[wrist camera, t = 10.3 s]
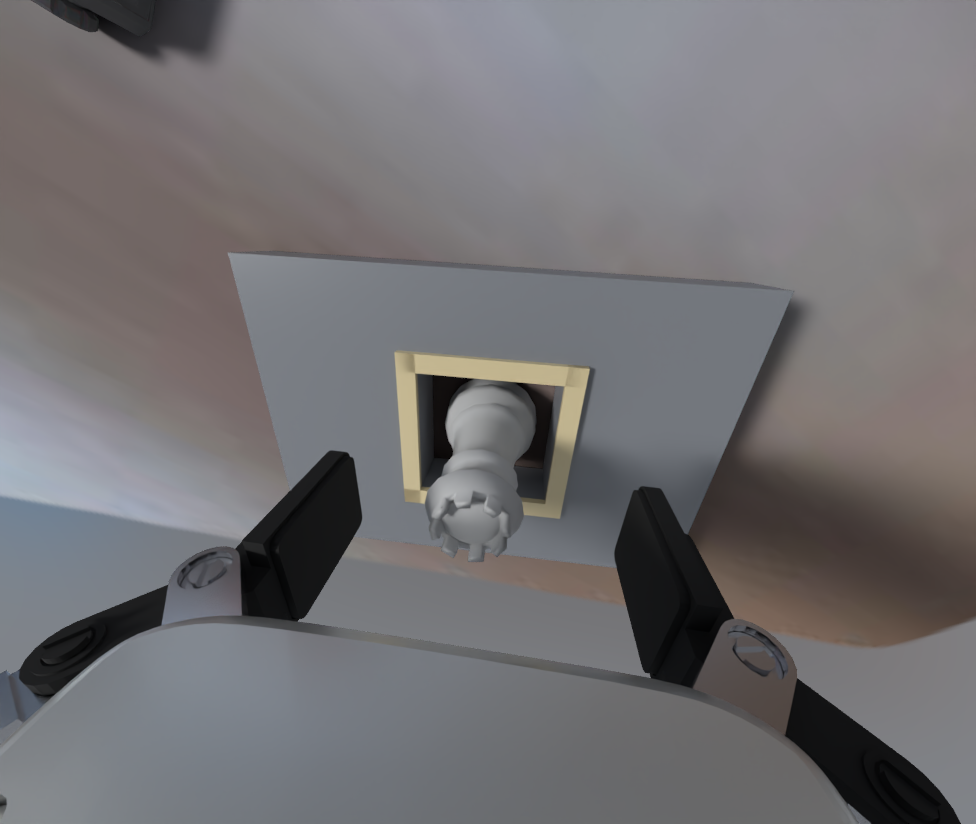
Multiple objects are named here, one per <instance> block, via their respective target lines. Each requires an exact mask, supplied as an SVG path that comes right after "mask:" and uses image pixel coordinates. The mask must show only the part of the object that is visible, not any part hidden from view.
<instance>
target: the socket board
mask: <svg viewBox="0 0 976 824" xmlns="http://www.w3.org/2000/svg"><path fill="white" fill-rule="evenodd" d="M228 255H229V259H230V262H231V266H232V270H233V274H234V278H235V282H236V285H237V289H238V293H239V297H240V301H241V305H242V308H243V312H244V316H245V320H246V324H247V328H248V331H249V335H250V339H251V343H252V347H253V351H254V354H255V358H256V362H257V366H258V370H259V374H260V377H261V381H262V385H263V389H264V393H265V397H266V400H267V404H268V408H269V412H270V416H271V420H272V423H273V427H274V431H275V435H276V439H277V443H278V446H279V450H280V454H281V458H282V462H283V466H284V469H285V473H286V477H287V481H288V485H289V489H290V490H291V489H292V488H293V487H294V486H295V485H296V484H297V483H298V482H299V481H300V480H301V479H302V478H303V477H304V476H305V475H306V474H307V473H308V472H309V471H310V470H311V469H312V468H313V467H314V466H315V465H316V464H317V462H318V461H319V460H320V459H321V458H322V457H323V456H324V455H325V454H326V453H327V452H328V451H330V450H334V451H342V452H348V453H349V455H350V457H353V458H354V462H355V469H356V476H357V483H358V489H359V496H360V503H361V510H362V522H361V525H360V527H359V529H358V530H357V532H356V534H355V535H354V537H361V538H370V539H378V540H386V541H395V542H403V543H412V544H420V545H428V546H437V547H442V543H443V540H444V539H443V538H442V537H440V539H435V540H432V539H431V536H430V532H429V529H428V528H429V525H430V521H429V519H428V516H427V512H426V509H425V500H426V495H427V491H428V489H429V488H430V487H431V486H432V485H433V484H434V483H435V481H436V480H437V479H438V478H440V477H441V476H442V472H443V468H444V465H445V464H446V463H447V462H448V461H449V459H441V458H434V430H433V377H432V375H440V376H451V377H463V378H474V379H486V380H497V381H508V382H520V383H531V384H543V385H554V386H555V393H554V399H553V405H552V412H551V418H550V425H549V431H548V438H547V444H546V450H545V457H544V463H543V469H538V468H528V467H519V466H514V467H513V469H514V470H515V472H516V474H517V482H518V487H517V490H516V492H517V494H518V495H519V497H520V498H521V500H522V504H523V512H524V517H523V520H522V522H521V525H520V527H519V529H518V531H516V532H515V533H514V534H513V535H512V536H511V538H508V539H507V549H506V550H505V551H504V552H502V553H501V554H504V555H512V556H520V557H529V558H537V559H546V560H554V561H562V562H571V563H579V564H587V565H596V566H604V567H613V568H617V567H616V563H615V558H614V551H615V546H616V543H617V540H618V537H619V534H620V531H621V527H622V524H623V521H624V518H625V515H626V511H627V508H628V505H629V502H630V499H631V496H632V493H633V491H634V490H639V488H640V487H641V486H646V487H655V488H660V489H661V490H662V491H663V493H664V495H665V497H666V499H667V500H668V502H669V504H670V506H671V508H672V510H673V512H674V514H675V516H676V518H677V520H678V522H679V524H680V526H681V528H682V529H683V531H684V533H685V534H687V535H688V533H689V530H690V528H691V526H692V524H693V521H694V519H695V517H696V514H697V512H698V510H699V508H700V505H701V503H702V501H703V498H704V496H705V494H706V492H707V489H708V487H709V485H710V482H711V480H712V478H713V476H714V473H715V471H716V469H717V466H718V464H719V462H720V460H721V457H722V455H723V453H724V450H725V448H726V446H727V443H728V441H729V439H730V437H731V434H732V432H733V430H734V427H735V425H736V423H737V421H738V418H739V416H740V414H741V411H742V409H743V407H744V405H745V402H746V400H747V398H748V395H749V393H750V391H751V389H752V386H753V384H754V382H755V379H756V377H757V375H758V373H759V370H760V368H761V366H762V363H763V361H764V359H765V356H766V354H767V352H768V350H769V347H770V345H771V343H772V340H773V338H774V336H775V334H776V331H777V329H778V327H779V324H780V322H781V320H782V318H783V315H784V313H785V311H786V308H787V306H788V304H789V302H790V299H791V297H792V295H793V292H794V291H791V290H786V289H780V288H775V287H770V286H764V285H759V284H754V283H744V282H729V281H714V280H700V279H685V278H670V277H655V276H640V275H625V274H610V273H595V272H580V271H565V270H550V269H535V268H520V267H506V266H491V265H476V264H461V263H446V262H431V261H416V260H401V259H386V258H371V257H356V256H341V255H327V254H312V253H297V252H282V251H256V252H231V253H228ZM458 549H462V550H467V549H463V548H460V547H458ZM485 552H487V553H492V552H491V548H489V549H486V550H485Z"/></svg>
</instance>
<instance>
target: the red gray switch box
mask: <svg viewBox="0 0 976 824" xmlns="http://www.w3.org/2000/svg"><path fill="white" fill-rule="evenodd" d="M31 1H33V2H35V3H36V4H38V5H40V6H41V7H43V8H44V9H46V10H48V11H49V12H51V13H53V14H54V15H56V16H58V17H59V18H61V19H63V20H64V21H66V22H68V23H70V24H72V25H74V26H76V27H78V28H80V29H83V30H85V31H88V32H96V31H98V24H99V20H98V18H97V17H96V16H95V15H94V13H96V14H98V15H100V16H102V17H104V18H106V19H108V20H109V21H111V22H113V23H115V24H117V25H119V26H121V27H123V28H124V29H126V30H128V31H130V32H132V33H134V34H136V35H138V36H139V37H140V36H142V35H143V34H145V33H147V32H148V31H150V30H151V25H152V19H153V13H154V7H155V1H156V0H31ZM92 11H93V12H94V13H93V12H92Z"/></svg>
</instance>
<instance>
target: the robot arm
mask: <svg viewBox="0 0 976 824" xmlns="http://www.w3.org/2000/svg"><path fill="white" fill-rule="evenodd" d="M361 522H362V510H361V503H360V496H359V489H358V483H357V476H356V469H355V462H354V458H353V457H350V455H349V453H348V452H342V451H334V450H330V451H328V452H327V453H326V454H325V455H324V456H323V457H322V458H321V459H320V460H319V461H318V462H317V464H316V465H315V466H314V467H313V468H312V469H311V470H310V471H309V472H308V473H307V474H306V475H305V476H304V477H303V478H302V479H301V480H300V481H299V482H298V483H297V484H296V485H295V486H294V487H293V488H292V489H291V490H290V491H289V492H288V494H287V495H286V496H285V497H284V498H283V499H282V500H281V501H280V502H279V503H278V504H277V505H276V506H275V507H274V508H273V509H272V510H271V511H270V512H269V513H268V514H267V515H266V516H265V517H264V518H263V519H262V520H261V521H260V523H259V524H258V525H257V526H256V527H255V528H254V529H253V530H252V531H251V532H250V533H249V534H248V535H247V536H246V537H245V538H244V539H243V540H242V542H241V543H240V544H239V545H238V546H237V548H236V549H234V548H231V547H215V548H211V549H207V550H204V551H202V552H200V553H197V554H195V555H194V556H192V557H191V558H189V559H187V560H186V561H185V562H183V563H182V564H181V565H180V566H179V567H178V568H177V569H176V570H175V571H174V573H173V574H172V575H171V578H170V580H169V584H168V585H167V586H164V587H162V588H159V589H157V590H154V591H152V592H149V593H147V594H144V595H142V596H139V597H137V598H134V599H132V600H129V601H127V602H124V603H122V604H120V605H117V606H115V607H112V608H110V609H107V610H105V611H102V612H100V613H97V614H95V615H92V616H90V617H88V618H85V619H82V620H80V621H77V622H75V623H73V624H71V625H69V626H67V627H65V628H63V629H61V630H60V631H58V632H56V633H55V634H54V635H52V636H50V637H49V638H47V639H46V640H45V641H44V642H43V643H41V644H40V645H39V646H38V647H36V648H35V649H34V650H33V652H32V653H31V654H30V655H29V656H28V657H27V658H26V659H25V661H24V663H23V665H22V667H21V668H20V669H19V670H18V671H16V672H14V673H12V674H10V673H9V672H8V671H7V670H6V671H4V672H2V673H0V824H961V823H960V821H959V819H958V817H957V815H956V814H955V812H954V810H953V808H952V807H951V805H950V804H949V803H948V801H947V800H946V799H945V797H944V796H943V795H942V793H941V792H940V791H939V790H938V788H937V787H936V786H934V784H933V783H932V782H931V781H930V780H929V779H928V778H927V777H926V776H925V775H924V774H923V773H922V772H921V771H920V770H918V769H917V768H916V767H915V766H914V765H913V764H911V763H910V762H909V761H908V760H906V759H905V758H904V757H902V756H901V755H900V754H898V753H897V752H896V751H894V750H893V749H892V748H890V747H889V746H888V745H886V744H885V743H884V742H882V741H881V740H880V739H878V738H877V737H876V736H874V735H873V734H872V733H870V732H869V731H868V730H866V729H865V728H863V727H862V726H861V725H859V724H858V723H857V722H855V721H854V720H853V719H851V718H850V717H849V716H847V715H846V714H845V713H843V712H842V711H841V710H839V709H838V708H837V707H835V706H834V705H833V704H831V703H830V702H828V701H827V700H826V699H824V698H823V697H822V696H820V695H819V694H818V693H816V692H815V691H814V690H812V689H811V688H810V687H808V686H807V685H805V684H804V683H803V682H802V681H800V680H799V679H798V678H797V669H796V666H795V664H794V661H793V659H792V657H791V656H790V654H789V653H788V651H787V650H786V648H785V647H784V646H783V645H782V644H781V643H780V642H779V641H778V640H777V639H776V638H775V637H774V636H772V635H771V634H770V633H768V632H767V631H766V630H764V629H763V628H761V627H759V626H757V625H755V624H753V623H751V622H748V621H745V620H741V619H734V617H733V615H732V613H731V611H730V610H729V608H728V606H727V604H726V602H725V600H724V598H723V596H722V595H721V593H720V591H719V589H718V587H717V585H716V583H715V581H714V580H713V578H712V576H711V574H710V572H709V570H708V568H707V566H706V564H705V563H704V561H703V559H702V557H701V555H700V553H699V551H698V549H697V548H696V546H695V544H694V542H693V540H692V539H691V537H690V536H689V535H687V534H685V533H684V531H683V529H682V528H681V526H680V524H679V522H678V520H677V518H676V516H675V514H674V512H673V510H672V508H671V506H670V504H669V502H668V500H667V499H666V497H665V495H664V493H663V491H662V490H661V489H660V488H655V487H646V486H641V487H640V488H639V490H634V491H633V493H632V496H631V499H630V502H629V505H628V508H627V511H626V515H625V518H624V521H623V524H622V527H621V531H620V534H619V537H618V540H617V543H616V546H615V551H614V558H615V563H616V567H617V571H618V575H619V579H620V583H621V586H622V590H623V594H624V598H625V602H626V606H627V610H628V614H629V618H630V621H631V625H632V629H633V633H634V637H635V641H636V645H637V649H638V652H639V657H640V661H641V664H642V667H643V670H644V672H645V673H650V677H651V678H647V677H641V676H636V675H630V674H625V673H619V672H614V671H608V670H603V669H597V668H591V667H585V666H579V665H573V664H567V663H560V662H555V661H549V660H542V659H536V658H530V657H524V656H518V655H512V654H506V653H500V652H493V651H487V650H481V649H474V648H468V647H462V646H454V645H449V644H443V643H436V642H430V641H423V640H417V639H411V638H403V637H397V636H391V635H384V634H378V633H371V632H365V631H358V630H352V629H345V628H338V627H332V626H325V625H319V624H311V623H303V622H298V620H299V619H302V618H304V617H305V616H306V615H307V613H308V612H309V610H310V608H311V607H312V605H313V603H314V602H315V600H316V599H317V597H318V595H319V594H320V592H321V590H322V589H323V587H324V585H325V583H326V582H327V580H328V579H329V577H330V575H331V574H332V572H333V570H334V569H335V567H336V565H337V564H338V562H339V560H340V559H341V557H342V555H343V554H344V552H345V550H346V549H347V547H348V545H349V544H350V542H351V540H352V539H353V537H354V535H355V534H356V532H357V530H358V529H359V527H360V525H361Z"/></svg>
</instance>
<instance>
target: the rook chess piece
mask: <svg viewBox="0 0 976 824" xmlns="http://www.w3.org/2000/svg"><path fill="white" fill-rule="evenodd" d="M536 422H537V421H536V410H535V405H534V403H533V402H532V400H531V398H530V397H529V395H528V393H527V392H526V391H525V390H524V389H522V388H521V387H520V386H518V385H517V384H516V383H515V382H508V381H497V380H486V379H473V380H471V381H469V382H467V383H465V384H463V385H461V386H460V387H459V389H458V390H457V391H456V392H455V394H454V395H453V396H452V397H451V399H450V403H449V407H448V411H447V415H446V419H445V427H446V431H447V436H448V440H449V442H450V444H451V445H452V448H453V456H452V457H451V458H450V459H449V461H448V462H447V463H446V464H445V465H444V468H443V472H442V476H441V477H440V478H438V479H437V480H436V481H435V483H434V484H433V485H432V486H431V487H430V488H429V489H428V491H427V495H426V500H425V509H426V512H427V516H428V519H429V521H430V525H429V528H428V529H429V532H430V536H431V539H432V540H435V539H440V537H442V538H443V539H444V540H443V543H442V547H441V551H442V552H444V553H446V554H447V555H449V556H451V557H452V558H454V556H455V555H456V553H457V550H458V547H460V548H463V549H467V550H469V556H468V562H483V561H484V554H485V550H486V549H489V548H491V552H492V553H493V554H494V555H495V556H496V557H498V556H499V555H500V554H501V553H502V552H504V551H505V550H506V549H507V539H508V538H511V536H512V535H513V534H514V533H515V532H516V531H518V529H519V527H520V525H521V522H522V520H523V517H524V512H523V504H522V500H521V498H520V497H519V495H518V494H517V492H516V490H517V487H518V482H517V474H516V472H515V470H514V469H513V467H514V464H515V461H516V460H518V459H519V458H520V457H521V456H522V455H523V454H524V453H525V452H526V451H527V450H528V448H529V447H530V445H531V442H532V439H533V437H534V434H535V431H536V430H535V425H536Z"/></svg>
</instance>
